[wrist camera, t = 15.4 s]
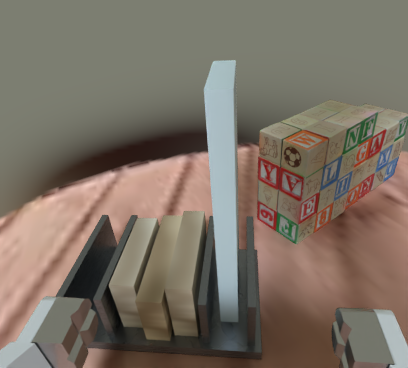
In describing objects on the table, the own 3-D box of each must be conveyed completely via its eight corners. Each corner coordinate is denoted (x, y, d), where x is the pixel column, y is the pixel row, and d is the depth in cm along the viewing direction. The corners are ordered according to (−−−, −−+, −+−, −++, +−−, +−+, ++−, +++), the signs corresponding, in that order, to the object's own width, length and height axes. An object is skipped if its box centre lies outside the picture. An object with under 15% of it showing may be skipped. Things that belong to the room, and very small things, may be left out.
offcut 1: (165, 257, 34) (157, 218, 31) (146, 327, 27) (133, 286, 24) (146, 257, 34) (137, 217, 31) (123, 326, 27) (108, 285, 24)
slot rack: (256, 256, 34) (258, 213, 31) (261, 359, 25) (263, 314, 22) (108, 252, 37) (95, 211, 33) (64, 346, 27) (39, 303, 24)
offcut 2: (187, 251, 34) (182, 215, 32) (170, 340, 26) (161, 302, 23) (169, 251, 35) (163, 215, 32) (146, 339, 26) (135, 301, 24)
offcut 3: (208, 255, 34) (204, 211, 30) (198, 336, 26) (191, 289, 23) (189, 255, 34) (183, 211, 31) (174, 335, 26) (164, 288, 23)
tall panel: (239, 267, 32) (235, 60, 21) (238, 322, 27) (233, 88, 16) (224, 267, 32) (213, 61, 21) (220, 321, 27) (204, 89, 16)
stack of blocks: (353, 160, 50) (370, 80, 43) (394, 175, 45) (420, 90, 39) (256, 219, 40) (258, 128, 33) (296, 246, 35) (308, 148, 29)
